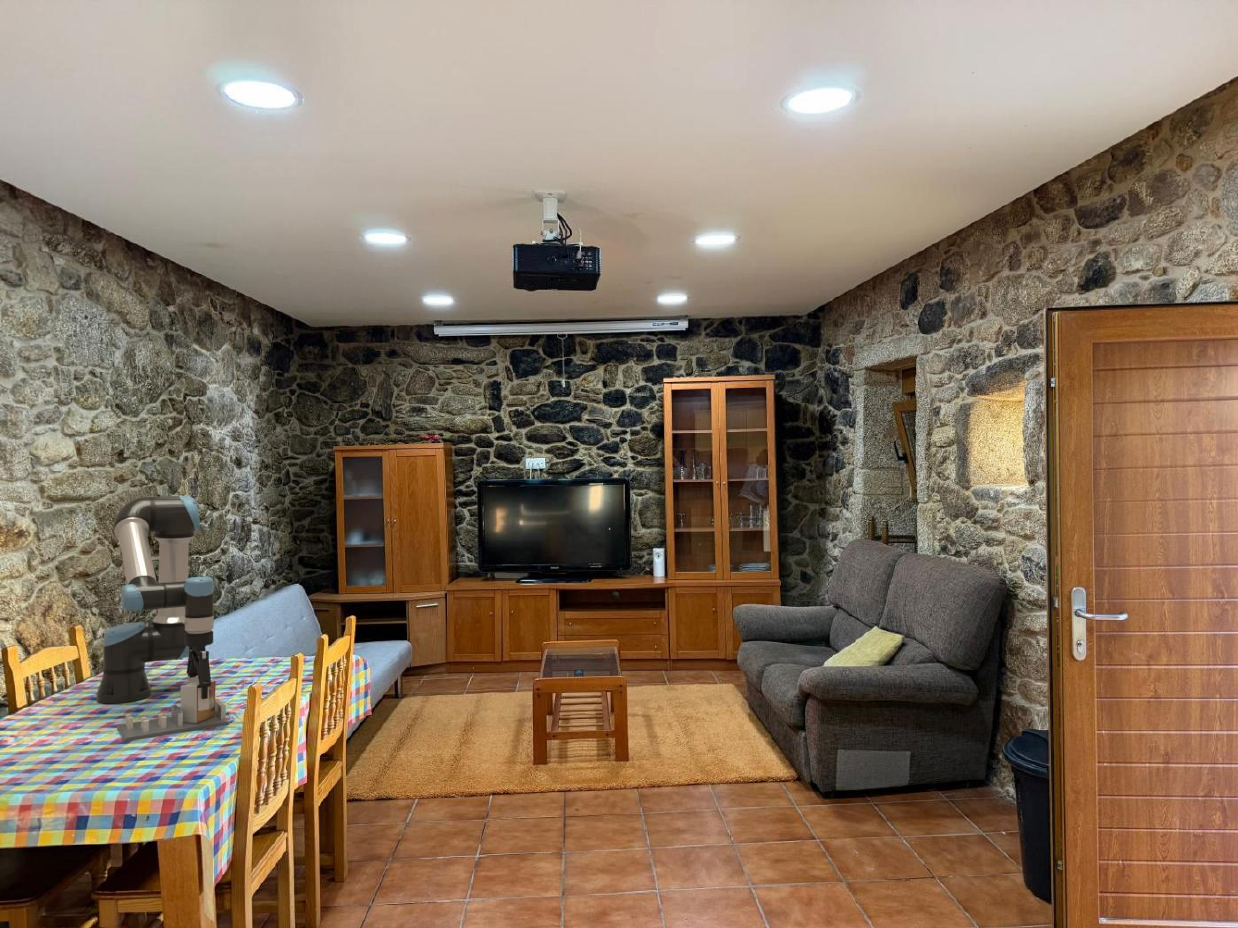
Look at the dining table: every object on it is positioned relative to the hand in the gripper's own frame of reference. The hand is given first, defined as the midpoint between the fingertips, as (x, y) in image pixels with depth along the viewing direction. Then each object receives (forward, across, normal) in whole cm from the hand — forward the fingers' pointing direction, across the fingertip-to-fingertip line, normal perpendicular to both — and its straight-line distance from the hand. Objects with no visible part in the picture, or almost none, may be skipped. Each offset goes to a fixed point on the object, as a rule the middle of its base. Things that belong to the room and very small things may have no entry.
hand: (198, 704), depth 248 cm
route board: (+5, 0, -6) cm, 8 cm away
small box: (+4, 0, 0) cm, 5 cm away
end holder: (+5, 0, 0) cm, 5 cm away
